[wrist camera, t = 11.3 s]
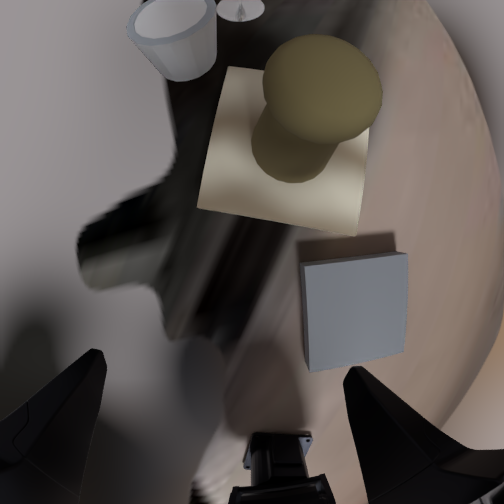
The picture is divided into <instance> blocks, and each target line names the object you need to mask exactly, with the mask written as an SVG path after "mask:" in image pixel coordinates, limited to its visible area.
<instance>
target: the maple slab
mask: <svg viewBox="0 0 504 504" xmlns="http://www.w3.org/2000/svg"><path fill="white" fill-rule="evenodd" d="M263 74H264V71H262V70H256V69H248V68H240V67H231V66H228V69H227V73H226V77H225V80H224V84H223V88H222V92H221V96H220V100H219V104H218V108H217V112H216V116H215V121H214V125H213V129H212V134H211V138H210V143H209V147H208V152H207V157H206V162H205V167H204V172H203V177H202V182H201V187H200V193H199V198H198V204H197V208H200V209H205V210H211V211H218V212H224V213H230V214H236V215H242V216H248V217H253V218H259V219H265V220H270V221H276V222H281V223H287V224H292V225H297V226H302V227H308V228H313V229H318V230H323V231H328V232H333V233H338V234H343V235H348V236H356V233H357V227H358V221H359V215H360V208H361V201H362V194H363V187H364V178H365V169H366V160H367V149H368V136H369V128H367V129H366V130H365V131H364V132H362V133H361V134H360V135H359V136H357V137H356V138H354V139H350V140H347V141H344V142H341V143H339V145H338V147H337V148H336V150H335V152H334V153H333V155H332V157H331V158H330V160H329V162H328V163H327V165H326V167H325V168H324V170H323V171H322V172H321V173H320V174H319V175H317V176H316V177H315V178H314V179H311V180H308V181H306V182H303V183H286V182H282V181H278V180H276V179H274V178H273V177H271V176H269V175H267V174H266V173H265V172H264V171H263V170H262V169H261V168H260V166H259V165H258V164H257V162H256V160H255V158H254V156H253V153H252V146H251V138H252V135H253V131H254V128H255V126H256V124H257V122H258V120H259V118H260V116H261V114H262V112H263V110H264V108H265V106H266V104H267V103H266V101H265V99H264V93H263V85H262V79H263Z"/></svg>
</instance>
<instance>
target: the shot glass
mask: <svg viewBox="0 0 504 504" xmlns="http://www.w3.org/2000/svg"><path fill="white" fill-rule="evenodd" d="M126 28H127V34H128V37H129V38H130V39H131V41H132V42H133V43H134V44H135V45H136V46H137V47H138V48H139V49H140V50H141V51H142V53H143V54H144V55H145V56H146V57H147V58H148V59H149V61H150V62H151V63H152V64H153V65H154V66H155V67H156V69H157V70H158V71H159V72H160V73H161V74H162V75H163V76H164V77H165V78H166V79H169V80H173V81H176V82H179V81H189V80H192V79H195V78H198V77H200V76H202V75H203V74H204V73H206V72H207V71H209V70H210V69H211V67H212V66H213V64H214V63H215V61H216V55H217V31H216V3H215V1H214V0H148V1H147V2H145V3H144V4H142V5H141V6H140V7H139V8H138V9H137V10H136V11H135V12H134V13H133V14H132V15H131V17H130V19H129V22H128V24H127V27H126Z"/></svg>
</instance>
